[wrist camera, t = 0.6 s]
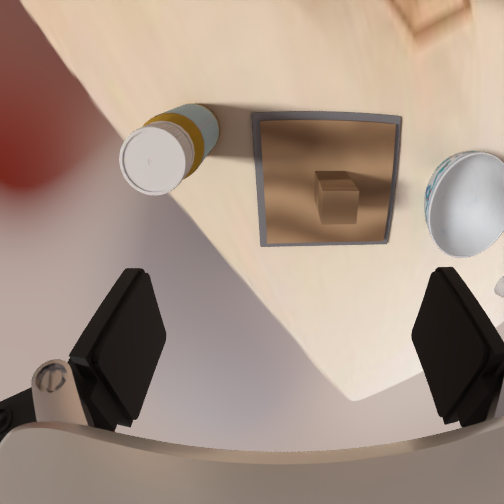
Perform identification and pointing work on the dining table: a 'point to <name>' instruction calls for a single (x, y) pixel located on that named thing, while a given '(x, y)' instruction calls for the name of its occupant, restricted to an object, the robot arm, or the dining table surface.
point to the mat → (316, 116)
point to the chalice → (500, 287)
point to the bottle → (168, 148)
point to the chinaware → (466, 203)
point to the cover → (326, 179)
